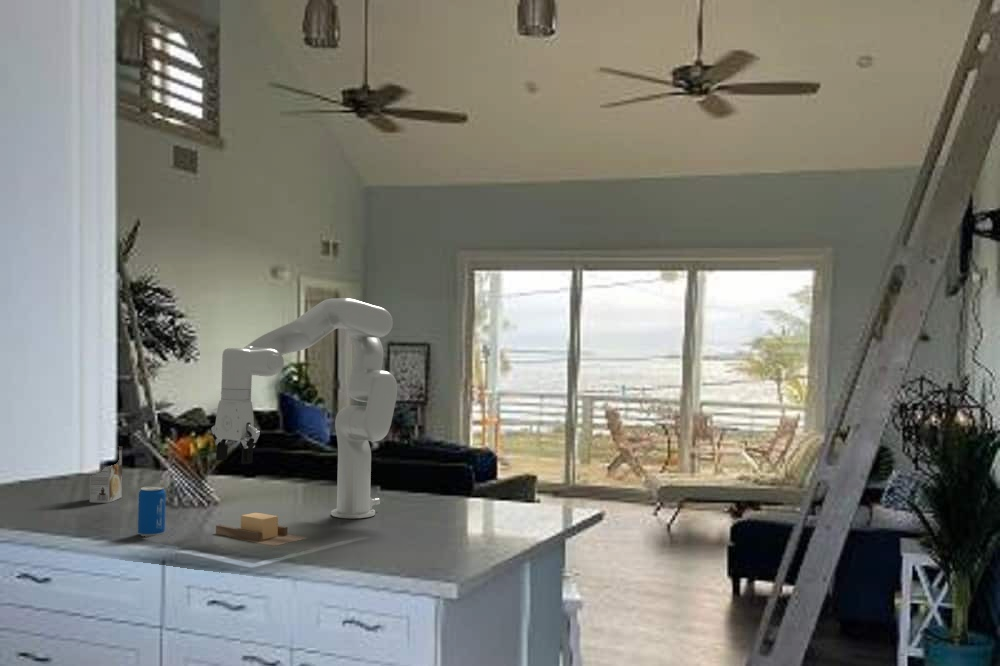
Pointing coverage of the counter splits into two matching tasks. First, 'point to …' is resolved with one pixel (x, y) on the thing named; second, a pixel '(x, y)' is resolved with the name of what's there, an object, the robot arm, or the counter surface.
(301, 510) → the counter surface
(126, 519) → the counter surface
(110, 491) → the coffee box
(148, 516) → the beverage can
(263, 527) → the block
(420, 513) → the counter surface
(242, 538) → the brown piece
